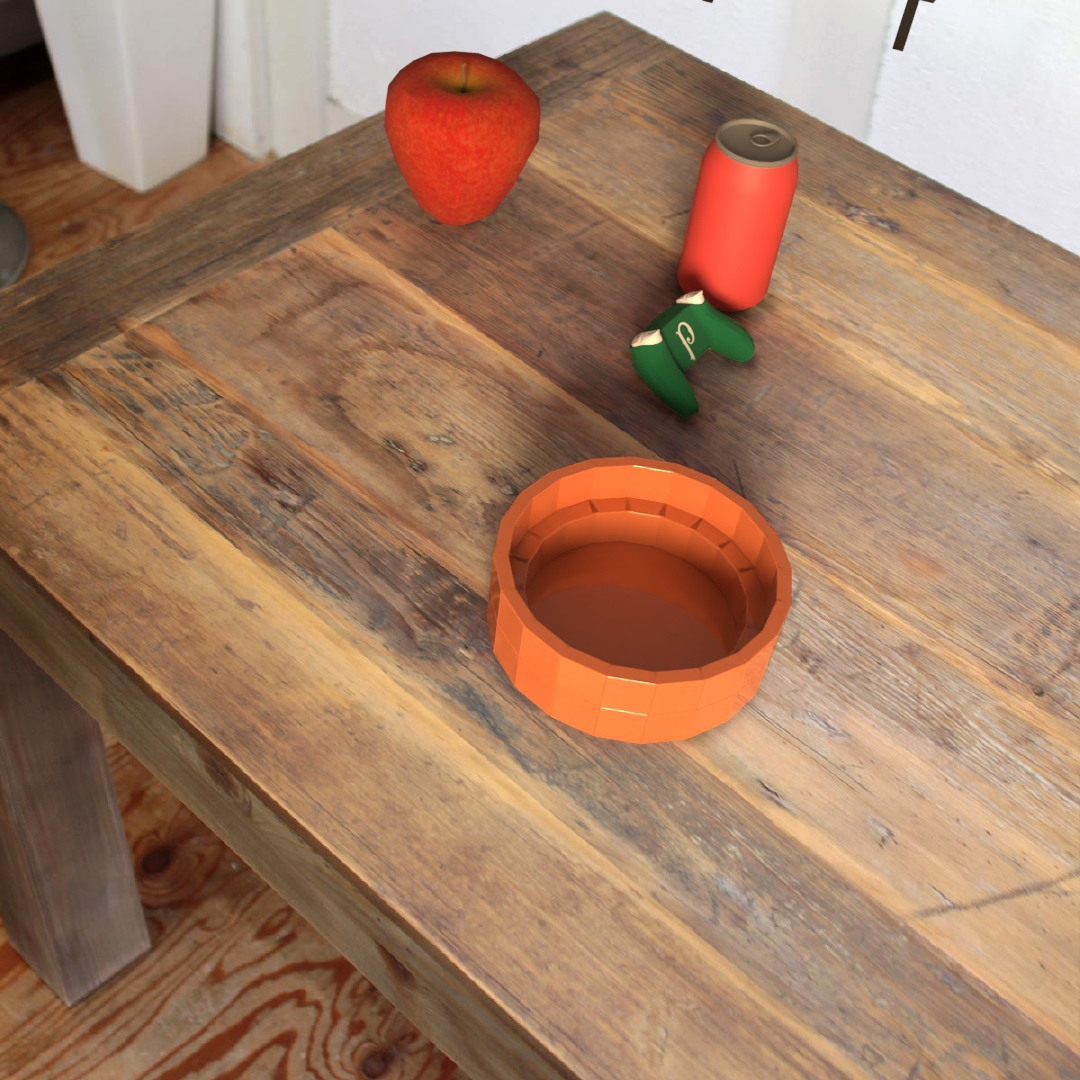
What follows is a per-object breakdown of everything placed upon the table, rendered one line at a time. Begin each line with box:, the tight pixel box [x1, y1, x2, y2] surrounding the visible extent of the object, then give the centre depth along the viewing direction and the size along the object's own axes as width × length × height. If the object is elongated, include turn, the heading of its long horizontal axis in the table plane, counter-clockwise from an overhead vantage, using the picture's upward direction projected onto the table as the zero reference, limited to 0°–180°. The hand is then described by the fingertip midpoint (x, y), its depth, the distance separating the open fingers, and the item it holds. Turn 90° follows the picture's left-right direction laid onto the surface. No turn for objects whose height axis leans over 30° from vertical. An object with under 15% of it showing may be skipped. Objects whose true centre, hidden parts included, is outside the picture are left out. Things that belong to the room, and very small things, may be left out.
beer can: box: [676, 117, 800, 312], centre depth 92 cm, size 7×7×12 cm
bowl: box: [485, 455, 793, 745], centre depth 72 cm, size 16×16×6 cm
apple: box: [383, 50, 542, 227], centre depth 95 cm, size 11×11×12 cm
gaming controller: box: [629, 290, 756, 420], centre depth 88 cm, size 9×4×6 cm
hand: (801, 19), depth 91 cm, fingers open, 13 cm apart
